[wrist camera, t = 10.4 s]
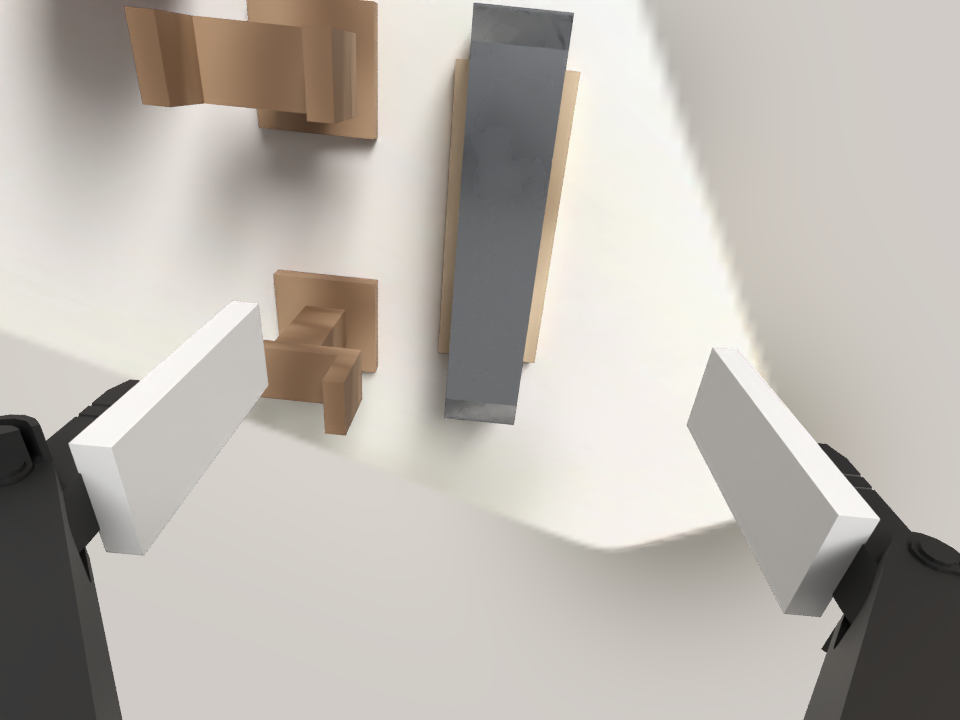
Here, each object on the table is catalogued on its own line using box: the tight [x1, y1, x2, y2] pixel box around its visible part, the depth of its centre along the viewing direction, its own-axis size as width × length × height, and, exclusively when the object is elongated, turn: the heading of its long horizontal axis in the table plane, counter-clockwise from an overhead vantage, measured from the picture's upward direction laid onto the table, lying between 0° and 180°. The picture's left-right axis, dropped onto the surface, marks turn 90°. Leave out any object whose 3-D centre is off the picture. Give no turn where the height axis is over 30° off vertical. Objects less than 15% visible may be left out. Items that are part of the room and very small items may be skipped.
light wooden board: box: [438, 59, 580, 363], centre depth 30 cm, size 6×16×1 cm, turn 175°
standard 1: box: [260, 270, 378, 435], centre depth 30 cm, size 7×6×10 cm
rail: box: [444, 3, 574, 425], centre depth 28 cm, size 4×20×4 cm, turn 175°
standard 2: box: [124, 0, 378, 139], centre depth 23 cm, size 7×6×10 cm
